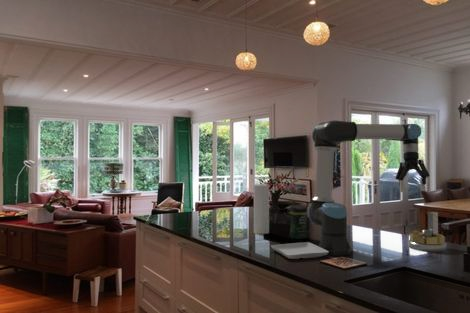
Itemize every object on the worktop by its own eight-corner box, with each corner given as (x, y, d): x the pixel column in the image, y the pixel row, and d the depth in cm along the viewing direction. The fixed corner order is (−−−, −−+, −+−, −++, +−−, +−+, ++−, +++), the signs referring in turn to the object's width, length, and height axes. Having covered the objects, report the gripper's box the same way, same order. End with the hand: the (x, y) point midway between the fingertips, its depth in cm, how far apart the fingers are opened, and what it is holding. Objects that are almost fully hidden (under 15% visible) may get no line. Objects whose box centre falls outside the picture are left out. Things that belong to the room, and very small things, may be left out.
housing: (421, 252, 185) (421, 233, 185) (402, 244, 201) (401, 227, 202) (454, 251, 187) (453, 232, 187) (431, 243, 204) (431, 226, 204)
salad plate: (287, 262, 169) (287, 254, 169) (270, 251, 189) (270, 244, 190) (330, 258, 175) (330, 251, 175) (308, 248, 195) (308, 241, 195)
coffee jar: (295, 239, 215) (295, 206, 215) (287, 237, 222) (287, 205, 222) (309, 238, 219) (309, 205, 219) (301, 235, 226) (301, 204, 226)
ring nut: (434, 245, 184) (434, 216, 184) (404, 240, 196) (404, 213, 196) (450, 241, 193) (450, 213, 193) (421, 236, 205) (421, 210, 205)
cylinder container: (256, 234, 231) (256, 184, 231) (251, 231, 240) (251, 183, 240) (271, 233, 234) (271, 184, 234) (265, 230, 243) (265, 183, 243)
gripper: (435, 149, 198) (437, 190, 195) (398, 156, 221) (399, 193, 217) (425, 148, 195) (427, 189, 192) (388, 154, 218) (389, 192, 214)
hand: (412, 191), depth 204 cm, fingers open, 13 cm apart
